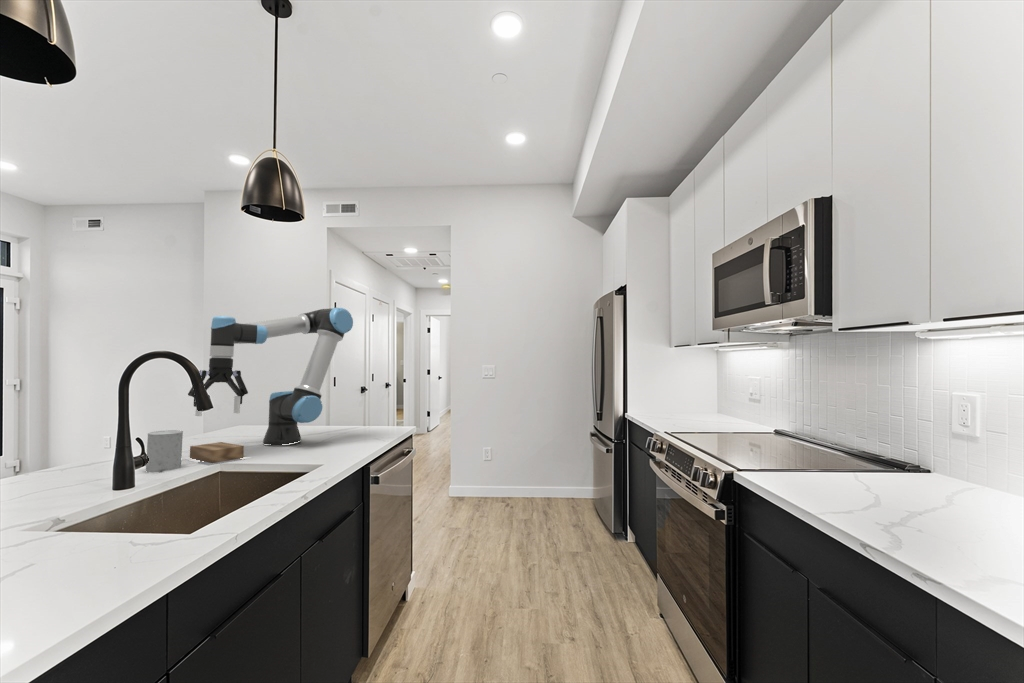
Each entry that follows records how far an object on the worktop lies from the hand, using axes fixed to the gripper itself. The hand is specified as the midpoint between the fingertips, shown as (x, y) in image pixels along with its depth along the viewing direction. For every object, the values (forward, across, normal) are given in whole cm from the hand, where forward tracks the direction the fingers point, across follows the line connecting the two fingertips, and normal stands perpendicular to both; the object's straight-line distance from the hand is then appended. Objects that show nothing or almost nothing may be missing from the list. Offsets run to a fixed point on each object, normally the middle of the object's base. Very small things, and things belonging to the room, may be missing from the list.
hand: (218, 414), depth 171 cm
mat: (+16, 0, 0) cm, 17 cm away
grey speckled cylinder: (+17, +18, +2) cm, 24 cm away
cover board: (+16, 0, 0) cm, 16 cm away
